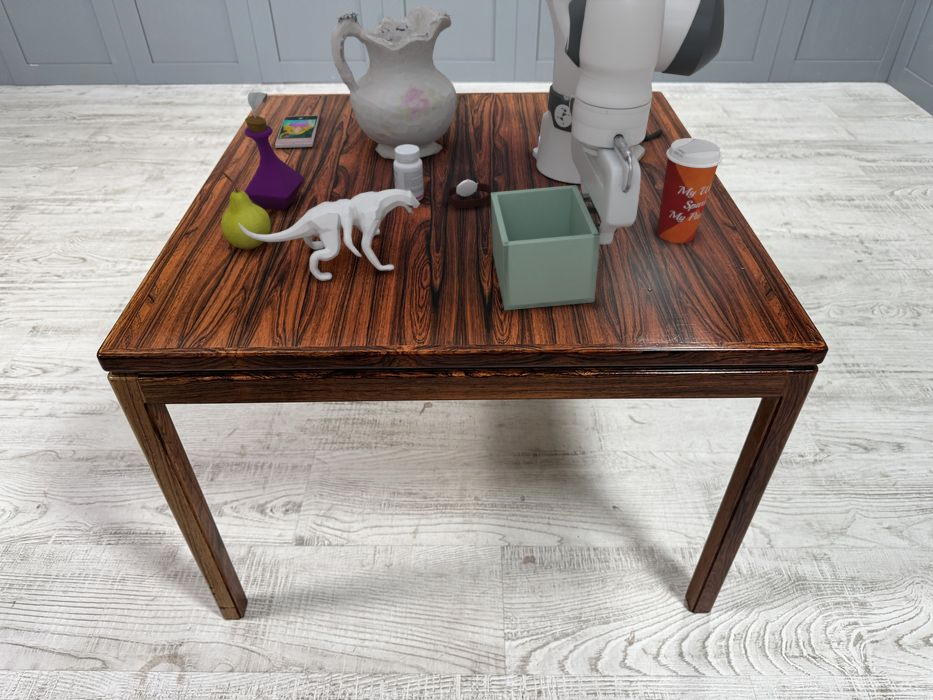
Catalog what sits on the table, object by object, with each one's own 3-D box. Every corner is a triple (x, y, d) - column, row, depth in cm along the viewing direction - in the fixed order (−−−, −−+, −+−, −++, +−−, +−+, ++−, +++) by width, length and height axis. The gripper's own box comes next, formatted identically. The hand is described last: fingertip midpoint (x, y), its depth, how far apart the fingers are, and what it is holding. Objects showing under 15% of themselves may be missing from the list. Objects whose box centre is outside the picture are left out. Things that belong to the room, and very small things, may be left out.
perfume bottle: (290, 216, 105) (268, 104, 94) (247, 211, 107) (220, 100, 95) (308, 195, 111) (289, 87, 99) (267, 191, 112) (243, 83, 101)
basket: (492, 254, 97) (594, 244, 97) (504, 310, 86) (618, 299, 87) (490, 192, 90) (599, 182, 91) (502, 245, 80) (625, 234, 80)
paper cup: (672, 251, 97) (694, 162, 88) (639, 228, 103) (656, 142, 94) (712, 239, 100) (736, 151, 91) (678, 217, 105) (698, 132, 96)
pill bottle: (428, 193, 112) (427, 146, 106) (415, 205, 108) (413, 157, 103) (404, 188, 113) (401, 141, 108) (390, 200, 110) (386, 152, 104)
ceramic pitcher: (379, 187, 116) (373, 39, 99) (323, 144, 126) (310, 4, 109) (473, 156, 126) (483, 17, 109) (415, 118, 137) (415, -13, 120)
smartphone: (319, 115, 137) (312, 143, 125) (319, 118, 137) (313, 147, 126) (284, 116, 136) (274, 144, 125) (285, 119, 137) (275, 148, 125)
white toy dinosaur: (432, 268, 94) (429, 205, 87) (253, 297, 88) (236, 233, 82) (412, 227, 103) (409, 168, 96) (249, 252, 97) (233, 190, 91)
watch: (486, 193, 112) (487, 173, 109) (495, 205, 108) (496, 185, 106) (443, 199, 110) (443, 179, 108) (451, 212, 107) (450, 191, 104)
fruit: (282, 237, 100) (267, 163, 93) (261, 261, 95) (243, 185, 88) (242, 232, 102) (223, 158, 94) (219, 254, 97) (197, 179, 89)
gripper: (662, 156, 70) (640, 264, 79) (614, 90, 86) (600, 187, 95) (604, 158, 70) (589, 267, 79) (567, 91, 85) (557, 189, 94)
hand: (595, 222), depth 87 cm, fingers open, 8 cm apart
